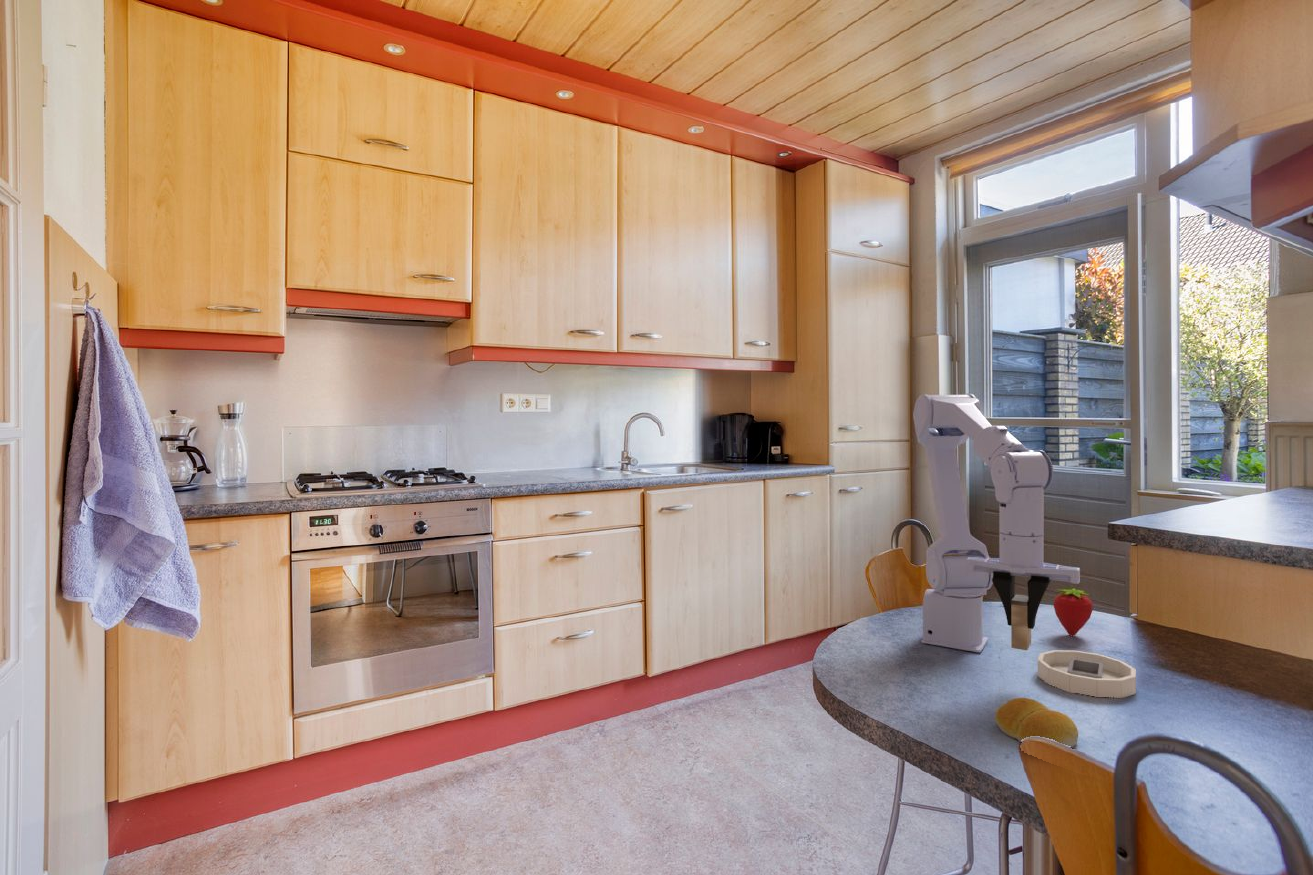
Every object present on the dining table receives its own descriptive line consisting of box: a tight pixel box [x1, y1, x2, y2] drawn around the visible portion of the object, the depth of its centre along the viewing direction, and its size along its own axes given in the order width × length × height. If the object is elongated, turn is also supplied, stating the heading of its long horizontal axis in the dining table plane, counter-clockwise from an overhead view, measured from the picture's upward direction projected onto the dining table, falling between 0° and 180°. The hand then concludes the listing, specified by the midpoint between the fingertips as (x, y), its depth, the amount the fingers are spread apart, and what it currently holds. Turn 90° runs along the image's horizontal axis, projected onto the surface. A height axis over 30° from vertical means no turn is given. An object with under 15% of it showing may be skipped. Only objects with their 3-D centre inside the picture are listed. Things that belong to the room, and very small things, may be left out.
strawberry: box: [1053, 583, 1094, 637], centre depth 121 cm, size 6×8×10 cm
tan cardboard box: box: [1010, 594, 1032, 651], centre depth 99 cm, size 2×4×7 cm, turn 143°
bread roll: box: [995, 697, 1079, 748], centre depth 84 cm, size 8×9×4 cm
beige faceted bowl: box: [1037, 649, 1137, 699], centre depth 101 cm, size 12×12×2 cm
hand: (1021, 625), depth 99 cm, fingers closed on tan cardboard box, 2 cm apart
